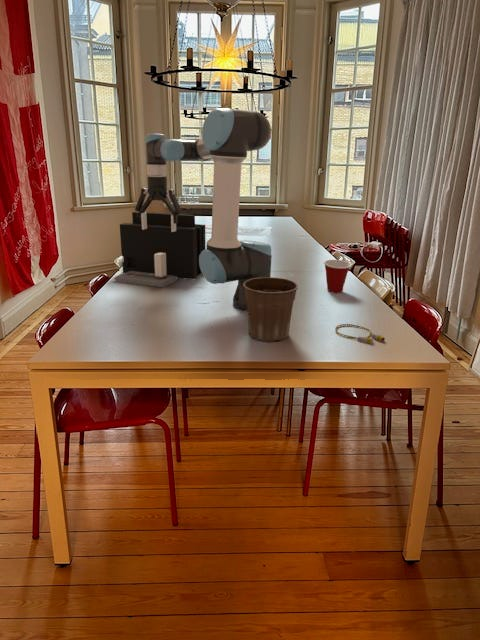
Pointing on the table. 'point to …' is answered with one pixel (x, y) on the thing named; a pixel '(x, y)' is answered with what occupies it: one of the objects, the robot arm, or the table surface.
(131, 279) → the fader panel
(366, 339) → the looped cable
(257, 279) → the plant pot
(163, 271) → the fader
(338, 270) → the plastic cup
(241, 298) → the robot arm
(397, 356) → the table surface
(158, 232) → the game console
